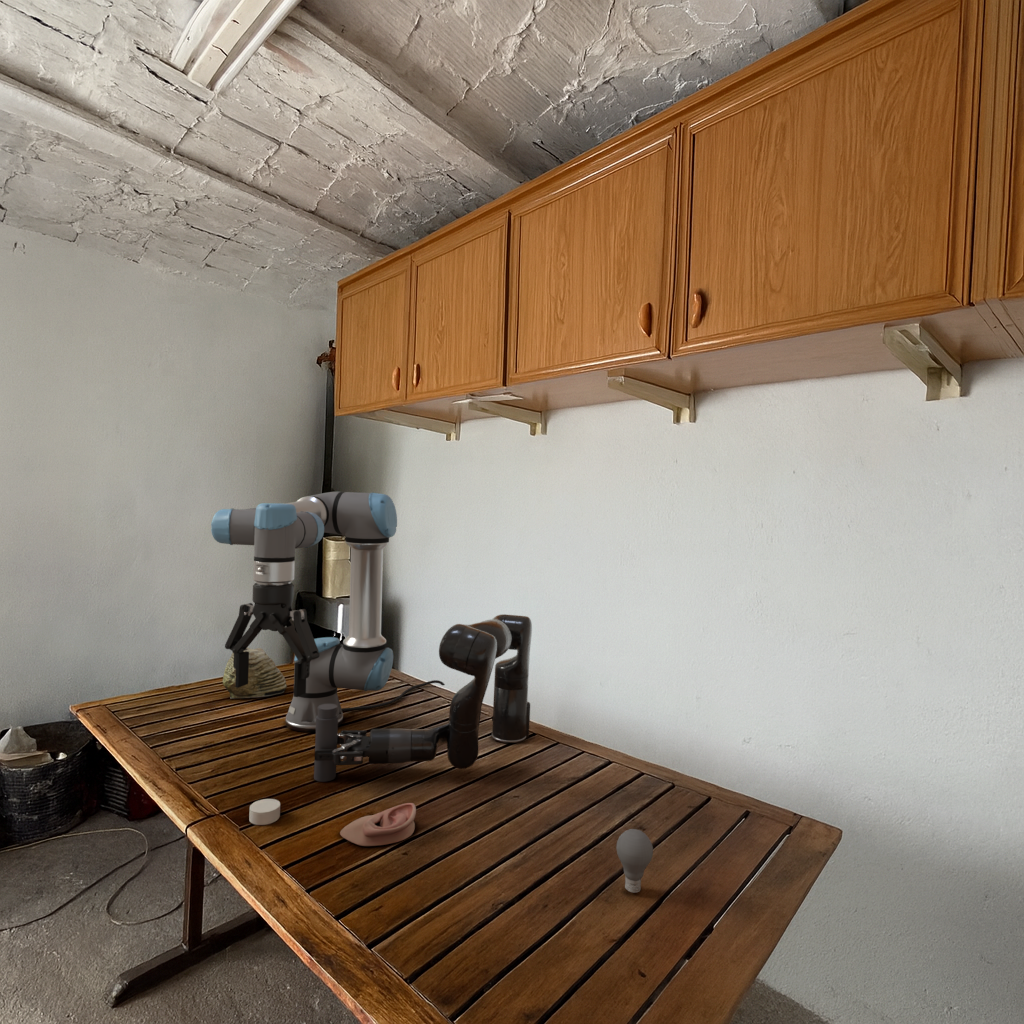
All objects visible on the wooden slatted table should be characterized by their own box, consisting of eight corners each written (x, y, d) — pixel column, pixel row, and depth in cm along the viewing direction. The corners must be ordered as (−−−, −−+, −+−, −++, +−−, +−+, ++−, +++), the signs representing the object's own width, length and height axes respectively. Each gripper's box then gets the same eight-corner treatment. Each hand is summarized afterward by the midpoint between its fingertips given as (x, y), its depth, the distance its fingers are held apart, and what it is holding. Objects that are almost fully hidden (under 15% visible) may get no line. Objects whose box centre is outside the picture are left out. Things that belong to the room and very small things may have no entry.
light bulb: (610, 879, 108) (613, 822, 108) (644, 879, 109) (647, 822, 109) (619, 902, 102) (622, 840, 102) (655, 901, 103) (658, 840, 103)
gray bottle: (327, 770, 146) (330, 701, 146) (340, 777, 143) (342, 706, 143) (309, 777, 143) (312, 706, 142) (322, 783, 140) (324, 711, 139)
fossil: (218, 695, 195) (220, 647, 195) (278, 685, 208) (279, 640, 207) (228, 703, 189) (230, 653, 188) (289, 692, 201) (290, 645, 201)
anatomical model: (332, 820, 116) (360, 792, 128) (332, 841, 116) (359, 811, 128) (400, 830, 114) (422, 801, 125) (400, 852, 114) (421, 821, 125)
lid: (266, 827, 121) (267, 814, 121) (242, 821, 122) (243, 809, 122) (285, 814, 126) (286, 801, 126) (262, 808, 128) (263, 796, 128)
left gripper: (207, 579, 124) (204, 686, 124) (317, 590, 116) (313, 704, 117) (235, 575, 131) (232, 676, 131) (340, 585, 123) (336, 693, 124)
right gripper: (391, 718, 152) (322, 719, 150) (390, 741, 138) (313, 743, 136) (390, 749, 152) (320, 751, 150) (389, 775, 138) (312, 777, 136)
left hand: (270, 690), depth 124 cm, fingers open, 13 cm apart
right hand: (317, 747), depth 143 cm, fingers open, 8 cm apart
